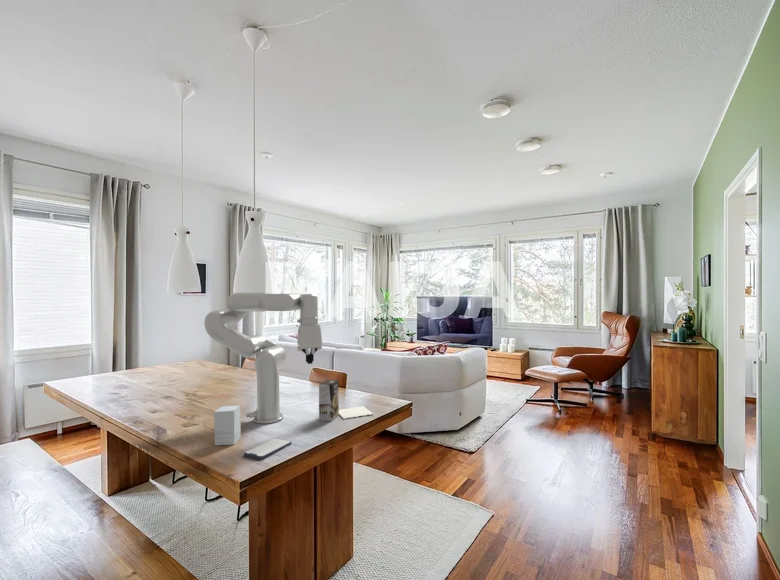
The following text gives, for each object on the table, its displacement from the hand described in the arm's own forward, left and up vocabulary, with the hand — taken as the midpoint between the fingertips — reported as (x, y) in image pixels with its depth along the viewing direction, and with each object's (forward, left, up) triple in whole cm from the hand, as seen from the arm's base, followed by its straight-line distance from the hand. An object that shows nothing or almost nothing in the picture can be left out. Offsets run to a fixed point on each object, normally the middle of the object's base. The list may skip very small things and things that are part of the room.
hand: (309, 363), depth 167 cm
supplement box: (-34, -10, -25) cm, 43 cm away
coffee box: (+8, 0, -25) cm, 27 cm away
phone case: (-20, -25, -26) cm, 41 cm away
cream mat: (+20, +1, -25) cm, 32 cm away
